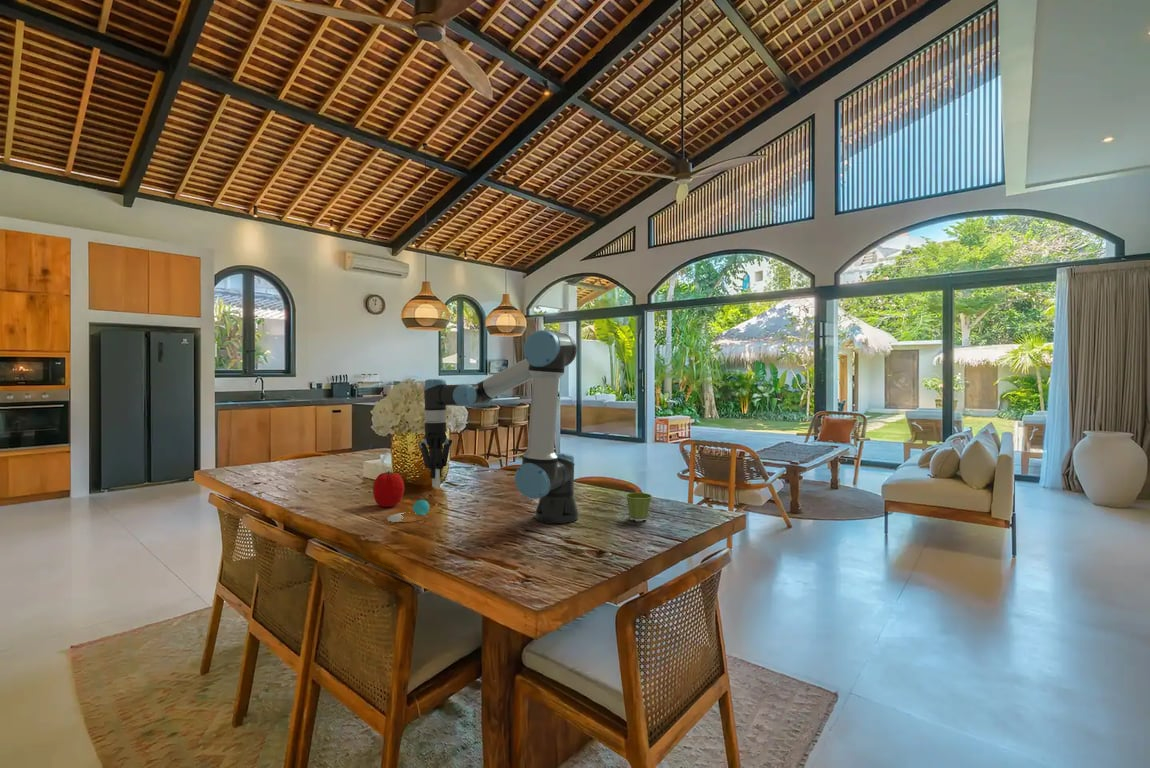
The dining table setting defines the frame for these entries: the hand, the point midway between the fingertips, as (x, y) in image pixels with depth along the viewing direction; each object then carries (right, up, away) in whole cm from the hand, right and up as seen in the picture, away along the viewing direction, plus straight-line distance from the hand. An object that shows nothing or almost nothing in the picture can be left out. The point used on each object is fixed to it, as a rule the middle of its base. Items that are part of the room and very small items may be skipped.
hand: (436, 487), depth 192 cm
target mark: (-8, -9, -8) cm, 14 cm away
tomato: (-20, -9, +8) cm, 23 cm away
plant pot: (+72, -11, -6) cm, 73 cm away
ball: (-4, -7, -4) cm, 9 cm away
